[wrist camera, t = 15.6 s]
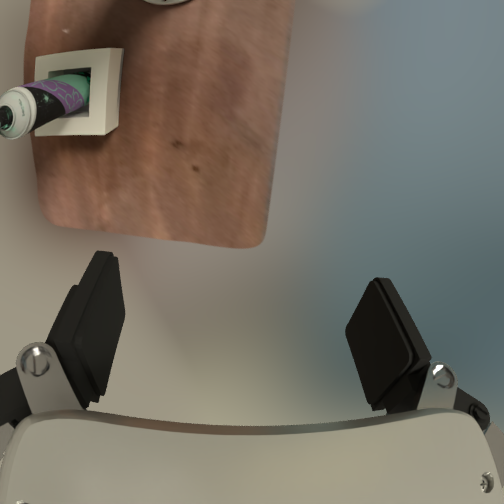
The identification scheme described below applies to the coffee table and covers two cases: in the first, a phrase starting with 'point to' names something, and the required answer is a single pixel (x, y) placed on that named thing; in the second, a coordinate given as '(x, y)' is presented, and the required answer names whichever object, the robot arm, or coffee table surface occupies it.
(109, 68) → the can holder
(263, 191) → the coffee table surface
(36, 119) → the spray can
